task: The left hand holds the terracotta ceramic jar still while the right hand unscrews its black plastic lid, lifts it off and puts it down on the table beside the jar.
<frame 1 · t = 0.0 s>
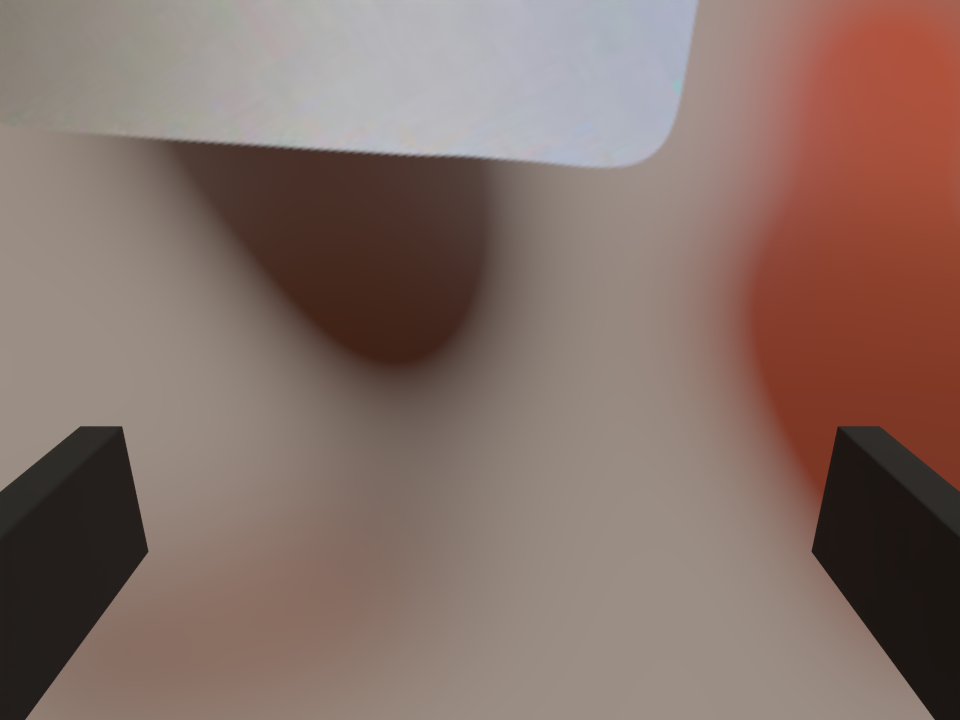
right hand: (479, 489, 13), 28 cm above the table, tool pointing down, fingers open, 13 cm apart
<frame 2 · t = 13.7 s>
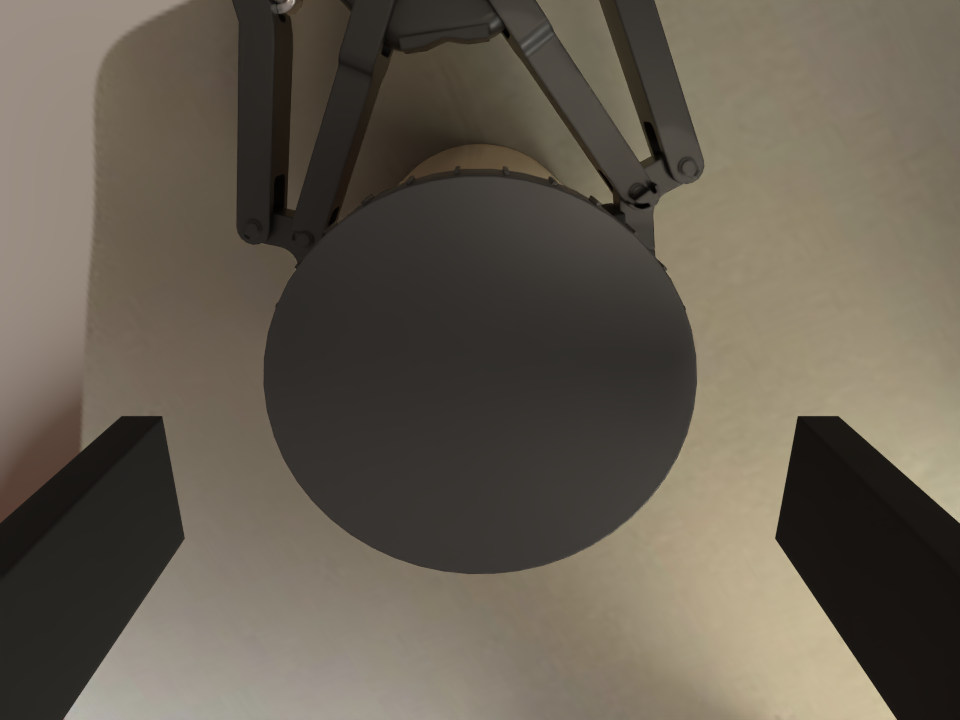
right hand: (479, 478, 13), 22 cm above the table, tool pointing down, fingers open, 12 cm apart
jar: (480, 248, 33), on the table, touching left hand
lid: (480, 391, 17), point 17 cm above the table, screwed on, not yet turned
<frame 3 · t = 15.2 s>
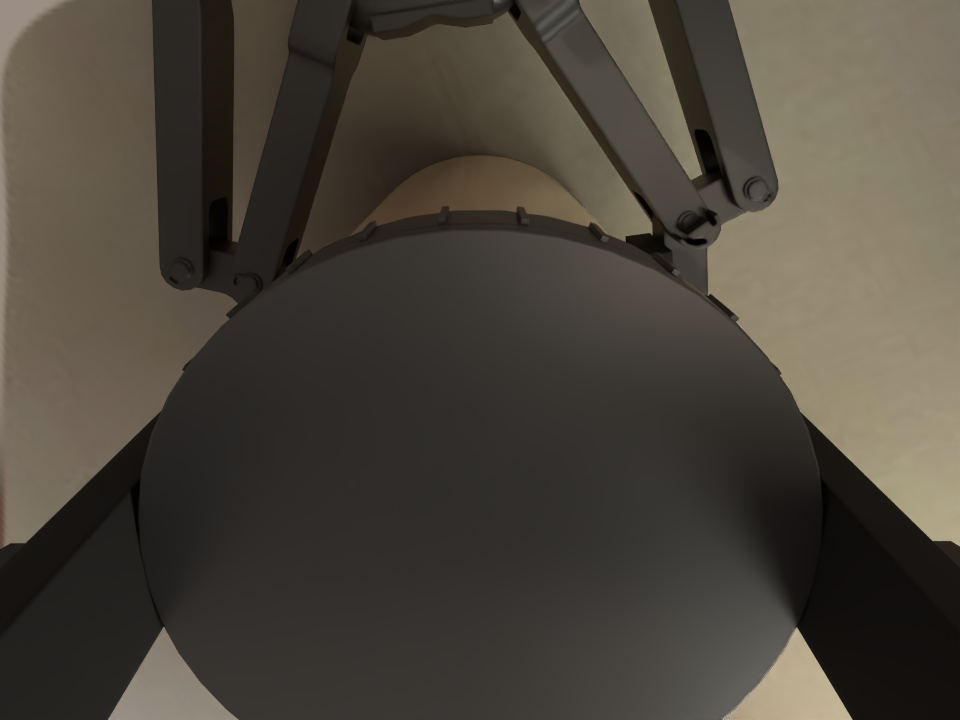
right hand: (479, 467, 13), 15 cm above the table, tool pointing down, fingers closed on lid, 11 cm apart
jar: (480, 282, 27), on the table, touching left hand
lid: (480, 553, 11), point 17 cm above the table, screwed on, not yet turned, touching right hand
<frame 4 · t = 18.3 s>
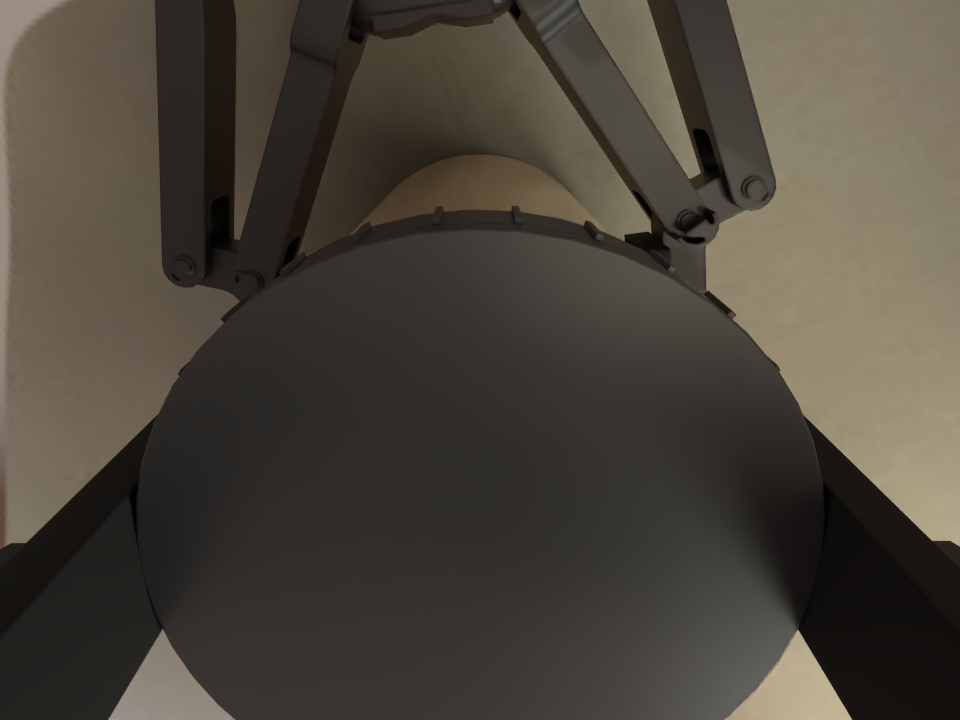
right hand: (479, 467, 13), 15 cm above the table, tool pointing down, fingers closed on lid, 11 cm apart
jar: (480, 280, 27), on the table, touching left hand
lid: (480, 555, 11), point 18 cm above the table, turned 73° so far, risen 0.2 cm, still on its thread, touching right hand
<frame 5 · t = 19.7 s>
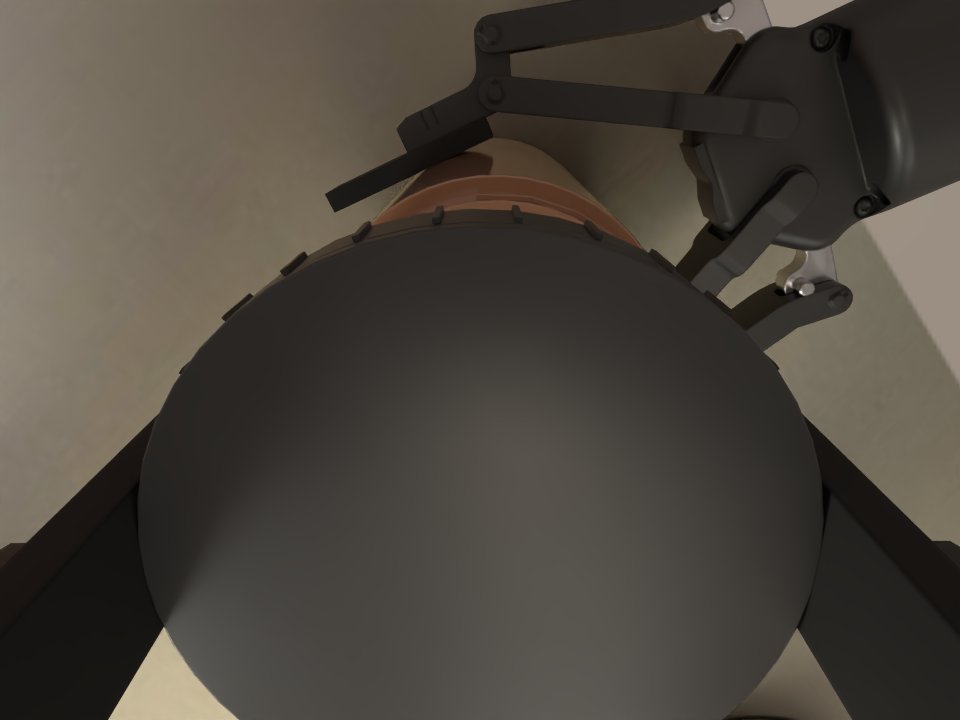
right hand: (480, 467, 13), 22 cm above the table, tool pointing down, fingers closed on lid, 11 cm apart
left hand: (398, 315, 28), fingers closed on jar, 10 cm apart
jar: (492, 241, 34), on the table, touching left hand
lid: (480, 553, 11), point 25 cm above the table, off its thread, touching right hand
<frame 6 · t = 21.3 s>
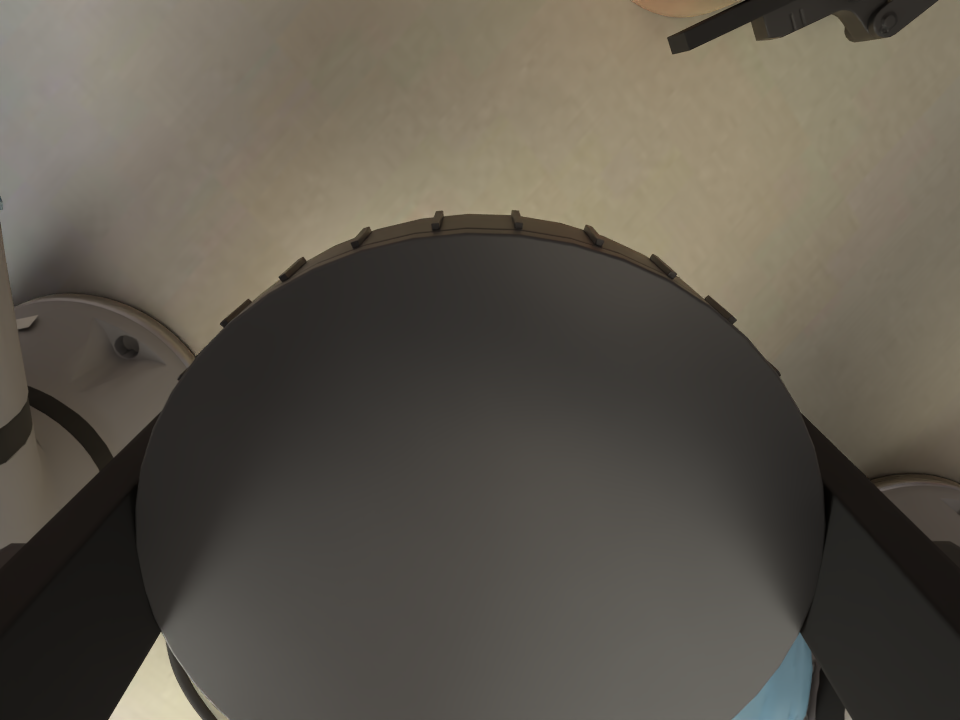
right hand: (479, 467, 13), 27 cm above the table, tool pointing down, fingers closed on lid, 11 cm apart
lid: (480, 560, 11), point 30 cm above the table, off its thread, touching right hand
when the right hand's fingers open (0 cm above the table, at t = 24.6 s): lid drops 2 cm, point 1 cm above the table.
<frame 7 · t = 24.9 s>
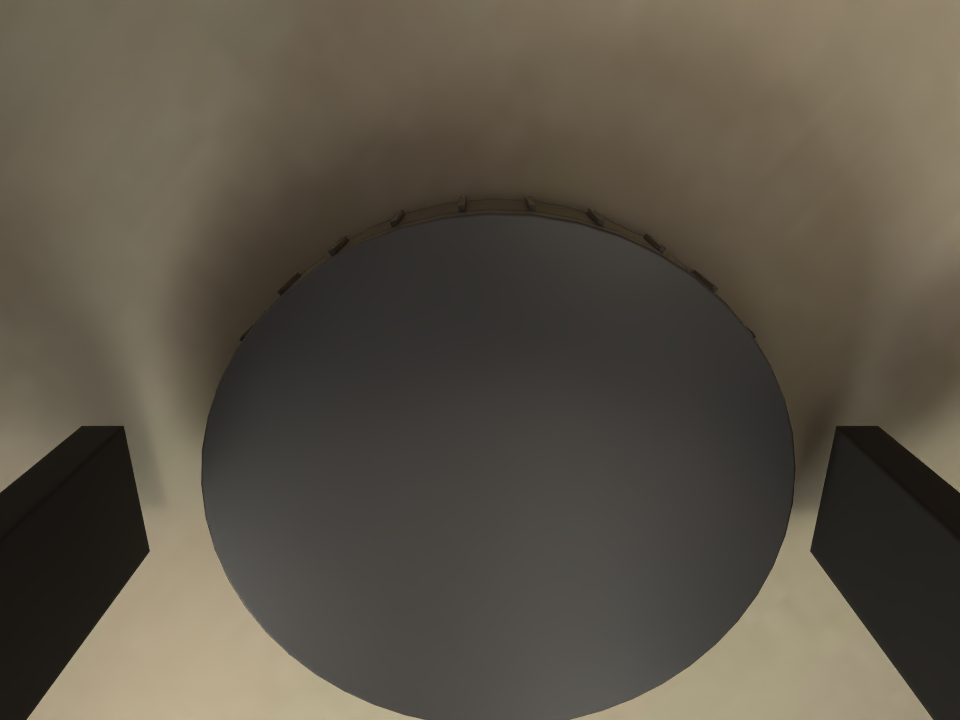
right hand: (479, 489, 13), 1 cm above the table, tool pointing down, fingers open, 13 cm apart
lid: (496, 500, 13), point 1 cm above the table, off its thread
when the left hand's fingers open (7 cm above the table, at t = 25.6 s): jar stays where it is, on the table.
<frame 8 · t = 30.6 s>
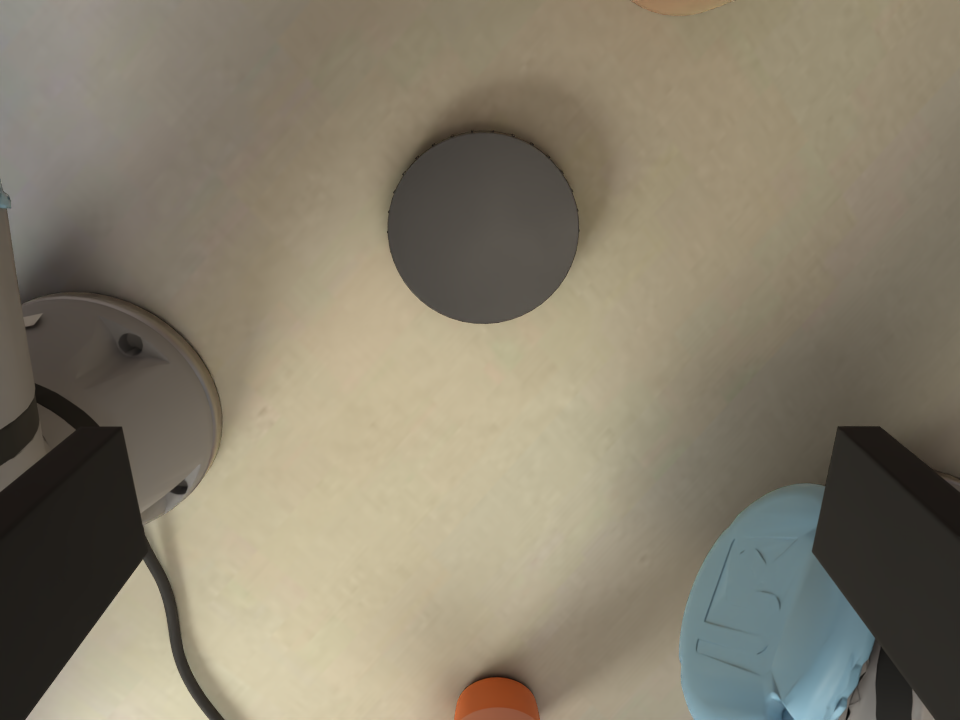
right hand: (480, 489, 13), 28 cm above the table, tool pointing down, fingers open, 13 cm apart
cup with straw: (496, 704, 52), on the table
lid: (483, 231, 38), point 1 cm above the table, off its thread
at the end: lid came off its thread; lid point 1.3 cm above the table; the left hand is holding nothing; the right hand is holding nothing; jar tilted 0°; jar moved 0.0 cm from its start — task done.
